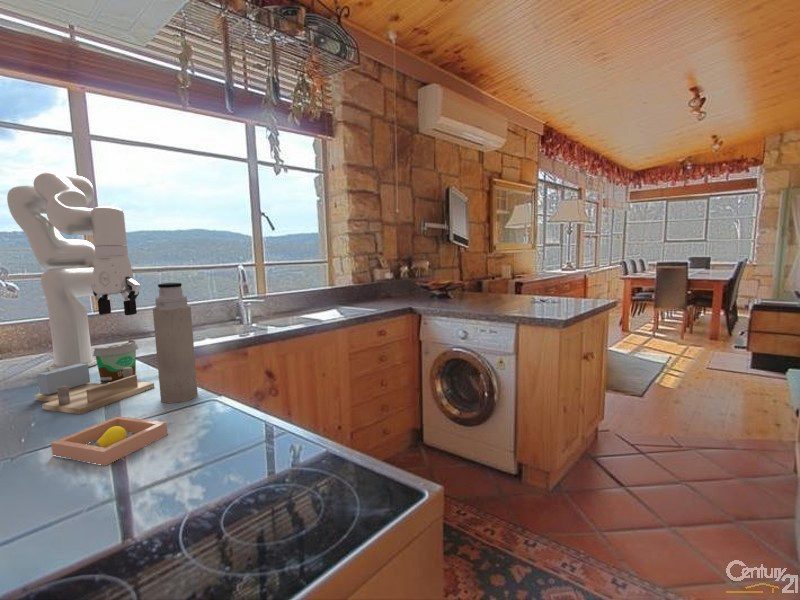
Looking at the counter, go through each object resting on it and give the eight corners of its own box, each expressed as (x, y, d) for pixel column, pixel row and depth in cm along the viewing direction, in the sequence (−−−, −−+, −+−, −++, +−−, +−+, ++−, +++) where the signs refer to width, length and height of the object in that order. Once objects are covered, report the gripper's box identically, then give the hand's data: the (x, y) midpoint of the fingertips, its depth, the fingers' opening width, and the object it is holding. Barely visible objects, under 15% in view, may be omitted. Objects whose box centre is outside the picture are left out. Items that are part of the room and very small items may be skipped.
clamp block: (40, 393, 103) (37, 373, 102) (81, 381, 112) (79, 363, 112) (48, 394, 102) (46, 374, 101) (90, 382, 111) (88, 363, 111)
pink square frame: (52, 456, 73) (51, 442, 73) (119, 427, 84) (118, 416, 84) (105, 466, 69) (103, 451, 69) (167, 434, 81) (166, 422, 80)
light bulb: (132, 441, 78) (127, 427, 76) (96, 462, 74) (90, 448, 72) (123, 432, 80) (118, 419, 78) (88, 452, 76) (82, 438, 74)
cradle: (16, 405, 99) (13, 384, 98) (96, 381, 117) (94, 363, 116) (80, 414, 92) (77, 391, 92) (154, 387, 110) (152, 368, 110)
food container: (115, 385, 113) (111, 349, 112) (96, 384, 114) (92, 348, 113) (150, 372, 125) (147, 339, 124) (133, 371, 126) (130, 339, 125)
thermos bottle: (182, 390, 107) (173, 281, 104) (205, 394, 104) (196, 281, 101) (153, 400, 100) (142, 284, 97) (176, 405, 97) (165, 284, 94)
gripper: (75, 253, 115) (82, 315, 116) (122, 252, 109) (128, 317, 111) (102, 253, 122) (108, 311, 124) (147, 252, 116) (153, 313, 118)
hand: (117, 314), depth 117 cm, fingers open, 9 cm apart
